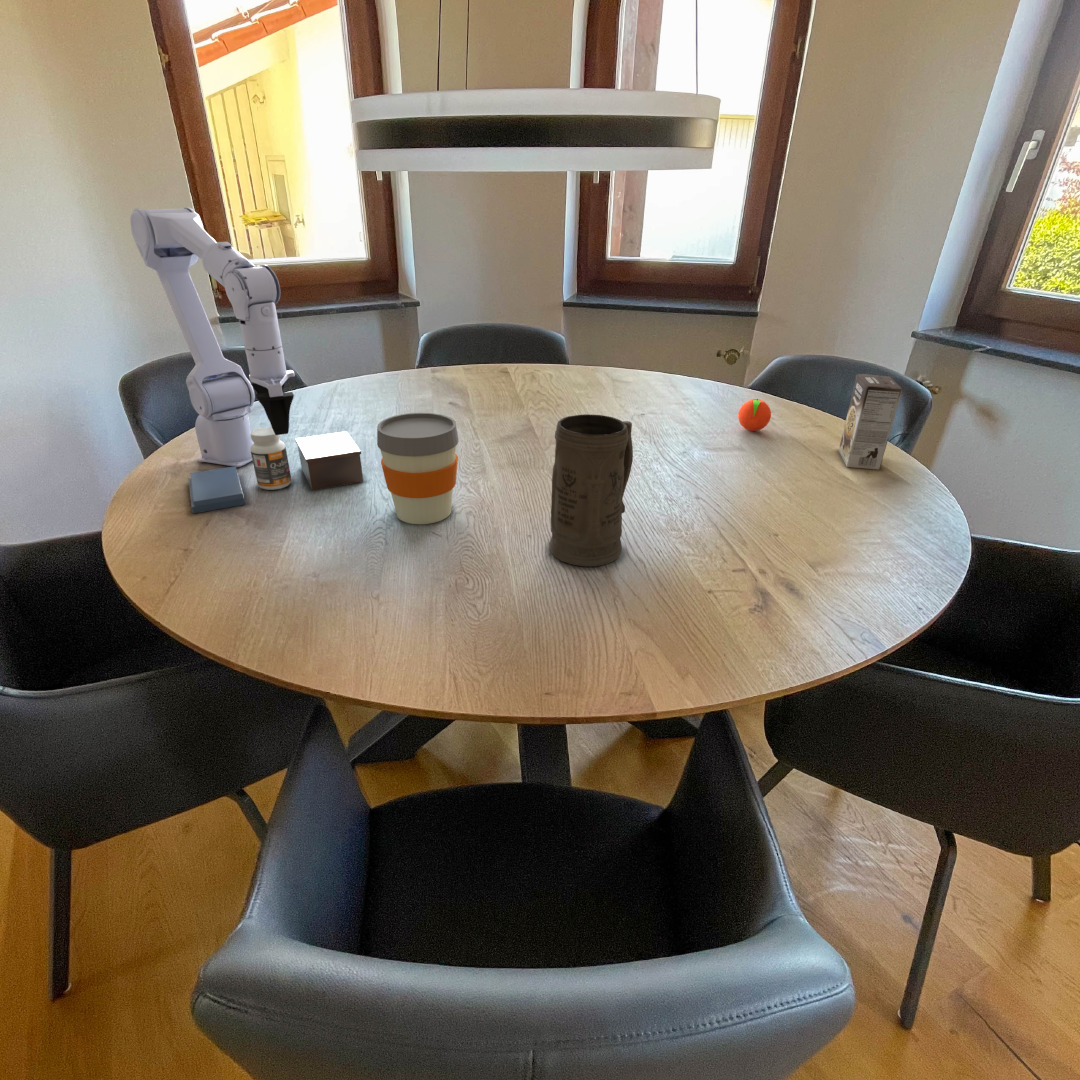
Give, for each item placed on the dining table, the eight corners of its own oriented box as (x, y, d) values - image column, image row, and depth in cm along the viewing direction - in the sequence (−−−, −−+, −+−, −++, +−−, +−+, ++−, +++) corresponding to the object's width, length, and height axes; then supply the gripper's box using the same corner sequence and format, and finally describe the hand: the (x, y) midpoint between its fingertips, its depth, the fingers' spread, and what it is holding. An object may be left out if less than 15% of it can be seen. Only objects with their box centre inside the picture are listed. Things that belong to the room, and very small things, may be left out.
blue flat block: (193, 513, 107) (190, 502, 106) (190, 484, 117) (187, 473, 116) (245, 504, 110) (243, 493, 109) (238, 476, 120) (236, 466, 119)
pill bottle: (281, 492, 114) (270, 438, 110) (251, 489, 115) (239, 435, 111) (298, 479, 119) (288, 427, 115) (269, 476, 120) (259, 424, 116)
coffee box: (836, 450, 136) (855, 373, 128) (870, 453, 135) (891, 375, 127) (845, 467, 128) (866, 385, 120) (880, 470, 127) (904, 387, 119)
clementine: (767, 438, 142) (773, 406, 139) (734, 434, 144) (739, 403, 140) (768, 427, 149) (774, 396, 145) (737, 423, 151) (742, 393, 147)
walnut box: (311, 491, 115) (305, 459, 112) (300, 468, 124) (295, 438, 121) (364, 482, 119) (360, 451, 116) (350, 460, 128) (346, 431, 125)
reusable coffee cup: (439, 535, 102) (433, 443, 94) (370, 521, 105) (358, 432, 98) (474, 502, 112) (471, 417, 105) (409, 491, 116) (402, 408, 108)
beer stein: (598, 577, 91) (612, 438, 83) (533, 556, 96) (540, 422, 88) (643, 540, 103) (659, 414, 95) (583, 522, 108) (593, 402, 100)
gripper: (296, 354, 103) (309, 436, 109) (283, 336, 114) (296, 412, 121) (248, 358, 100) (265, 442, 106) (239, 339, 111) (255, 417, 118)
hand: (278, 427), depth 113 cm, fingers open, 7 cm apart
